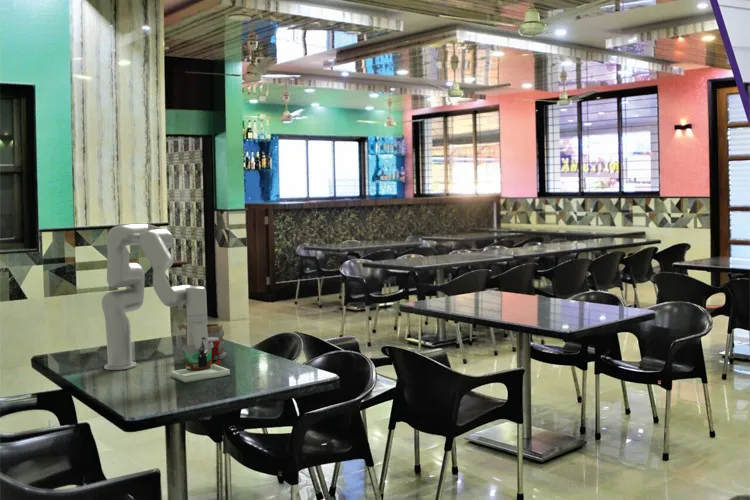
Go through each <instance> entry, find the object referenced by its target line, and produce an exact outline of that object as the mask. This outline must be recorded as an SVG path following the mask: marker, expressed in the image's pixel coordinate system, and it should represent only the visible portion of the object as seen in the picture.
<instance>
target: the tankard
mask: <svg viewBox="0 0 750 500" xmlns="http://www.w3.org/2000/svg"><path fill="white" fill-rule="evenodd" d="M206 324H207V331H208V337H218V338H219V345H220V360H223V359H225V358H226V357H227V356H228V352H226V351H224V348H225V346H226V344H225V341H224V338H223V337H224V336H225V331H224V329H223V324H221V323H206ZM187 326H188V324H186V323H181V324H180V325H179V326H177V328H178V330H179V331H181V330H183V329H184V330H185V337H184V341H183V345H187ZM187 346H188V345H187Z"/></svg>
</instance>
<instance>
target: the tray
mask: <svg viewBox="0 0 750 500" xmlns="http://www.w3.org/2000/svg"><path fill="white" fill-rule="evenodd" d="M230 371H231V369H230V368H227V367H223V366H221V365H219V366H218V365H215V364H212V365H211V368H210V369H207V370H202V371H188V370H187V369H186V368H182V369H178V370H171V371H170V377H172V378H173V379H175V380H178V381H181V382H183V383H193V382H197V381H203V380H208V379H214V378H221V377H224V376H230V375H231V372H230Z"/></svg>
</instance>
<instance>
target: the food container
mask: <svg viewBox="0 0 750 500" xmlns="http://www.w3.org/2000/svg"><path fill="white" fill-rule="evenodd" d="M181 345H182V346H181V351H182V352H183V356H184V361H185V362H184V363H185V369H187V370H188V371H202V370H207V369H210V368H211V355H212V348H213V347H214V346H213V343H212V341H211V343H208V351H207V366H205V367H199V364H198V357H199V353H198V351H199V348H198V350H196V349H194V346H187V345H184V344H181ZM200 348H201V349H203V346H201V347H200ZM201 352H202V350H201Z"/></svg>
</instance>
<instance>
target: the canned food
mask: <svg viewBox="0 0 750 500" xmlns="http://www.w3.org/2000/svg"><path fill="white" fill-rule="evenodd" d="M211 341H212V343H213V346H214V347H213V348H212V355H211V365H212V364H215V365H218V366H221V359H220V345H219V338H218V337H208V343H211Z"/></svg>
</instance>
